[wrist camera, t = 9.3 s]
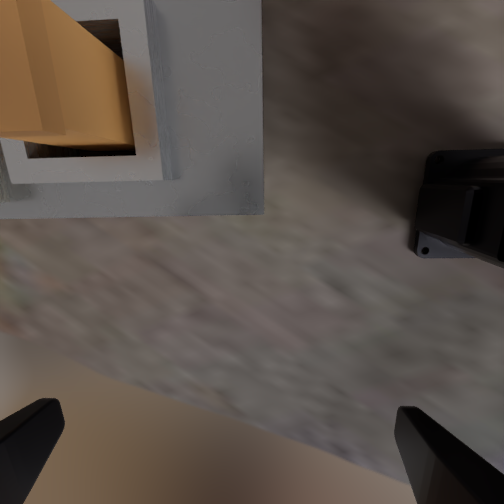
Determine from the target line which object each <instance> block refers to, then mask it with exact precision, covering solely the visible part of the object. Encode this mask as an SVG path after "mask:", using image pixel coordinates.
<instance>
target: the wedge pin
mask: <svg viewBox="0 0 504 504" xmlns="http://www.w3.org/2000/svg"><path fill="white" fill-rule="evenodd" d="M0 137H1V138H8V139H14V140H21V141H27V142H34V143H41V144H47V145H54V146H61V147H67V148H74V149H80V150H87V151H116V150H136V149H135V142H134V134H133V127H132V119H131V112H130V104H129V97H128V89H127V81H126V74H125V66H124V60H122V59H121V58H120V57H119V56H118V55H116V54H115V53H114V52H113V51H111V50H110V49H109V48H108V47H107V46H105V45H104V44H103V43H102V42H101V41H99V40H98V39H97V38H96V37H94V36H93V35H92V34H91V33H90V32H88V31H87V30H86V29H85V28H83V27H82V26H81V25H80V24H79V23H77V22H76V21H75V20H74V19H72V18H71V17H70V16H69V15H68V14H66V13H65V12H64V11H63V10H62V9H60V8H59V7H58V6H57V5H55V4H54V3H53V2H52V1H51V0H0Z"/></svg>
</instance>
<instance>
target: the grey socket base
mask: <svg viewBox="0 0 504 504" xmlns="http://www.w3.org/2000/svg"><path fill="white" fill-rule="evenodd" d="M51 1H52V2H53V3H54V4H55V5H57V6H58V7H59V8H60V9H62V10H63V11H64V12H65V13H66V14H68V15H69V16H70V17H71V18H72V19H74V20H75V21H76V22H77V23H79V24H80V25H81V26H82V27H83V28H85V29H86V30H87V31H88V32H90V33H91V34H92V35H93V36H94V37H96V38H97V39H98V40H99V41H101V42H102V43H103V44H104V45H105V46H107V47H108V48H109V49H110V50H111V51H113V52H114V53H115V54H116V55H118V56H119V57H120V58H121V59H122V60H124V66H125V74H126V81H127V89H128V97H129V104H130V112H131V119H132V127H133V134H134V142H135V149H136V155H135V156H102V157H80V155H79V150H78V149H74V148H67V147H61V146H54V145H47V144H41V143H34V142H27V141H21V140H14V139H8V138H1V137H0V219H29V218H87V217H144V216H202V215H260V214H264V152H263V66H262V0H51Z"/></svg>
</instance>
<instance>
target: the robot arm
mask: <svg viewBox="0 0 504 504" xmlns="http://www.w3.org/2000/svg"><path fill="white" fill-rule="evenodd" d="M437 156H438V157H439V158H440V161H439V163H438V164H436V163H435V158H436V157H437ZM415 228H416V229H417V231H416V237H415V244H414V253H415V254H416V255H417V256H419V257H421V258H478V259H481V260H483V261H486V262H488V263H491V264H494V265H496V266H499V267H502V268H504V149H482V150H448V151H436V152H433V153H431V154H430V155H429V156H428V158H427V161H426V168H425V175H424V182H423V186H422V187H421V188H420V193H419V200H418V207H417V214H416V221H415ZM423 247H426V250H425V251H424V252H423V253H421V250H422V248H423ZM64 425H65V421H64V417H63V414H62V409H61V405H60V402H59V400H58V399H56V398H42V399H39V400H37V401H35V402H33V403H32V404H30V405H28V406H26V407H24V408H22V409H21V410H19V411H17V412H15V413H14V414H12V415H10V416H8V417H6V418H5V419H3V420H1V421H0V504H23V503H24V501H25V499H26V497H27V496H28V494H29V492H30V491H31V489H32V487H33V485H34V483H35V481H36V479H37V478H38V476H39V474H40V472H41V471H42V469H43V467H44V465H45V463H46V461H47V459H48V458H49V456H50V454H51V452H52V450H53V449H54V447H55V445H56V443H57V441H58V439H59V437H60V436H61V434H62V432H63V429H64ZM394 435H395V440H396V444H397V446H398V449H399V452H400V455H401V458H402V461H403V464H404V467H405V470H406V473H407V475H408V478H409V481H410V484H411V487H412V490H413V493H414V496H415V499H416V501H417V504H504V474H503V473H501V472H500V471H499V470H497V469H496V468H495V467H494V466H492V465H491V464H490V463H488V462H487V461H486V460H485V459H483V458H482V457H481V456H479V455H478V454H477V453H476V452H474V451H473V450H472V449H470V448H469V447H468V446H467V445H465V444H464V443H463V442H462V441H460V440H459V439H458V438H456V437H455V436H454V435H453V434H451V433H450V432H449V431H447V430H446V429H445V428H444V427H442V426H441V425H440V424H438V423H437V422H436V421H435V420H433V419H432V418H431V417H430V416H428V415H427V414H426V413H424V412H423V411H422V410H421V409H419V408H417V407H415V406H400V407H399V408H398V410H397V416H396V423H395V429H394Z"/></svg>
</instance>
